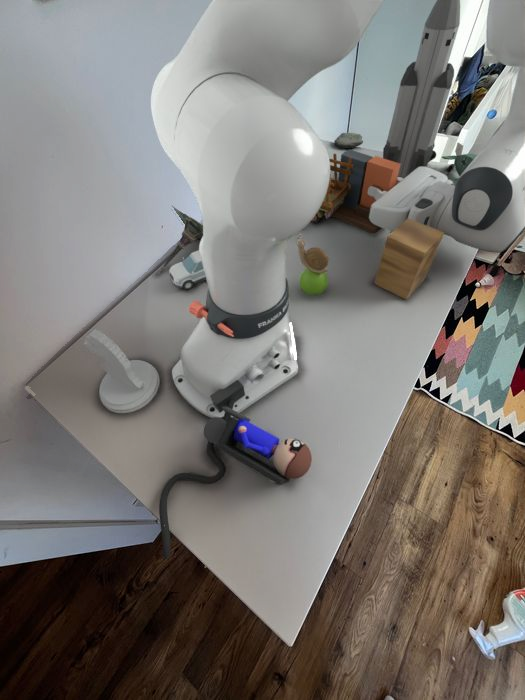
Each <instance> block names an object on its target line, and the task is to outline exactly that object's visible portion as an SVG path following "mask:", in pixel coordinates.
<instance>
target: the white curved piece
mask: <svg viewBox="0 0 525 700" xmlns="http://www.w3.org/2000/svg"><path fill="white" fill-rule="evenodd" d="M83 345H84V346H85V348H86V349H87V350H88V351H89V352H90V353H92V354H93V355H94V356H95V357H101V358H102V359H104V360H103V362H102V363H101V368H102V369H103V370H104V372H105V373H106V374H105V375H104V377H103V378H102V380H101V382H100V384H99V391H98V392H99V399H100V401H101V403H102V405H103V407H105V408H106V409H107V410H109V411H110V412H112V413H116V414H130V413H134V412H137V411H139V410H141V409H143V408H144V407H146V406H147V405H149V403H151V402H152V400H153V399H154V398H155V396H156V395H157V393H158V391H159V389H160V383H161V379H160V374H159V373H158V371H157V369H156V368H155V366H153V365H152V364H150V363H149V362H147V361H144V360H140V359H131V360H129V358H128V357H127V355H126V354H125V353H124V352H123V350H122V349H121V348H120V347H119V346H118V344H116V343H115V341H113V340H112V339H111V338H110V337H109V336H107V335H105V333H102V331H100V330H98V329H96V328H94V329H93V330H92V331H91V332H90V333H89V334H88V335H87V336H86V337H85V341H84V342H83Z"/></svg>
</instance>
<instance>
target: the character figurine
mask: <svg viewBox="0 0 525 700" xmlns="http://www.w3.org/2000/svg"><path fill="white" fill-rule="evenodd" d="M222 408H223V410H224V412H226V413H228V414H230V415H232V416H234V417H233V418H232V417H230V420H229V422H228V424H227V422H226V421H225V420H223V417H221V418H217V417H215V418H209V419H208V420H207V421H206V422H205V424H204V426H203V435H204V438H205V439H206V441H207V442H208V441H209V442H211V443H214V444H216V447H215V448H216V449H218V450H219V451H221V452H222V453H224V454H226V455H228V456H229V457H231V458H233V459H235V460H236V461H237V462H240V463H241V464H242V465H244V466H246V467H248V468H249V469H251V470H253V471H255V472H256V473H258V474H259V475H261V476H263V477H264V478H266V479H268V480H270V481H271V482H272V483H274V484H276V485H277V486H282V485H284V484H287V483H289V482H290V480H295V479H300V478H302V477H303V476H305V475H306V474H307V473H308V471H309V470H310V468H311V466H312V458H313V457H312V452H311V450H310V448H309V447H308V445H307V444H306V443H304V441H302V440H300V439H297V438H286V439H283V440H281V441H280V438H279V437H277V436H275V435H273V434H271V433H269V432H268V431H266V430H265V429H263V428H260V427H258V426H257V425H255V424H253V423H252V422H250V421H251V419H250V418H249V417H247V416H245V415H243V414H242V413H241V412H240V413H238V412H236V411H234V410H232V409H231V408H229V407H222ZM237 444H240V445H241V446H242V445H243V447H244V449H245V450H243V449H242V448H240V447H239V446H237ZM248 449H249V450H250V451H252V452H254V453H256V454H257V455H260V456H261V457H263V458H265V459H266V460H271V459H272V462H273V466H274V467H273V466H270V465H269V464H268V463H266V462H264V461H262V460H261V459H259V458H257V457H255V456H254V455H252V454H250V453H248V452H247V451H246V450H248Z"/></svg>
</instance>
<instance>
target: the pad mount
mask: <svg viewBox="0 0 525 700" xmlns="http://www.w3.org/2000/svg"><path fill="white" fill-rule="evenodd" d="M349 157H350V158H352V161H351V164H353V168H351V167H350V171H352V172H351V175H349V176H348V180H347V183H348V184H351V187H350V192H349V193H348V194H347V195H346V196H345V197H344V202H343V203H342V204H341V205H340V206H339V207H338V208H337V209H336V210H335V211H334V212H333V213H332V215H331V216H330V217H332V218H335V219H338V220H340V221H341V222H344V223H347V224H349V225H351V226H354V227H355V228H358V229H360V230H362V231H365V232H367V233H369V234H372V235H376V234H377V233H378V232H379V231H380V230H382V228H381V227H379V226H377V225H374V224H373V223H371V221H370V220H369V213H370V209H368V208H366V207H363V206H361V205H360V201H361V195H362V189H363V184H364V178H365V172H366V167H367V161H369V160H370V159H372V158H373V157H374V156H372V155H370V154H365V153H363V152H361V151H360V152H359V151H356V150H353V149H351V148H348V149H347V150H345V151H344V152H343V153H341V155H340V161H341V162H345V163H348V161H349ZM339 168H342V169H346V170H347V166H344V165H340V164H339ZM345 175H346V174H343V173H339V172H338V177H337V180H338V181H341V182H344V180H345Z"/></svg>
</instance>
